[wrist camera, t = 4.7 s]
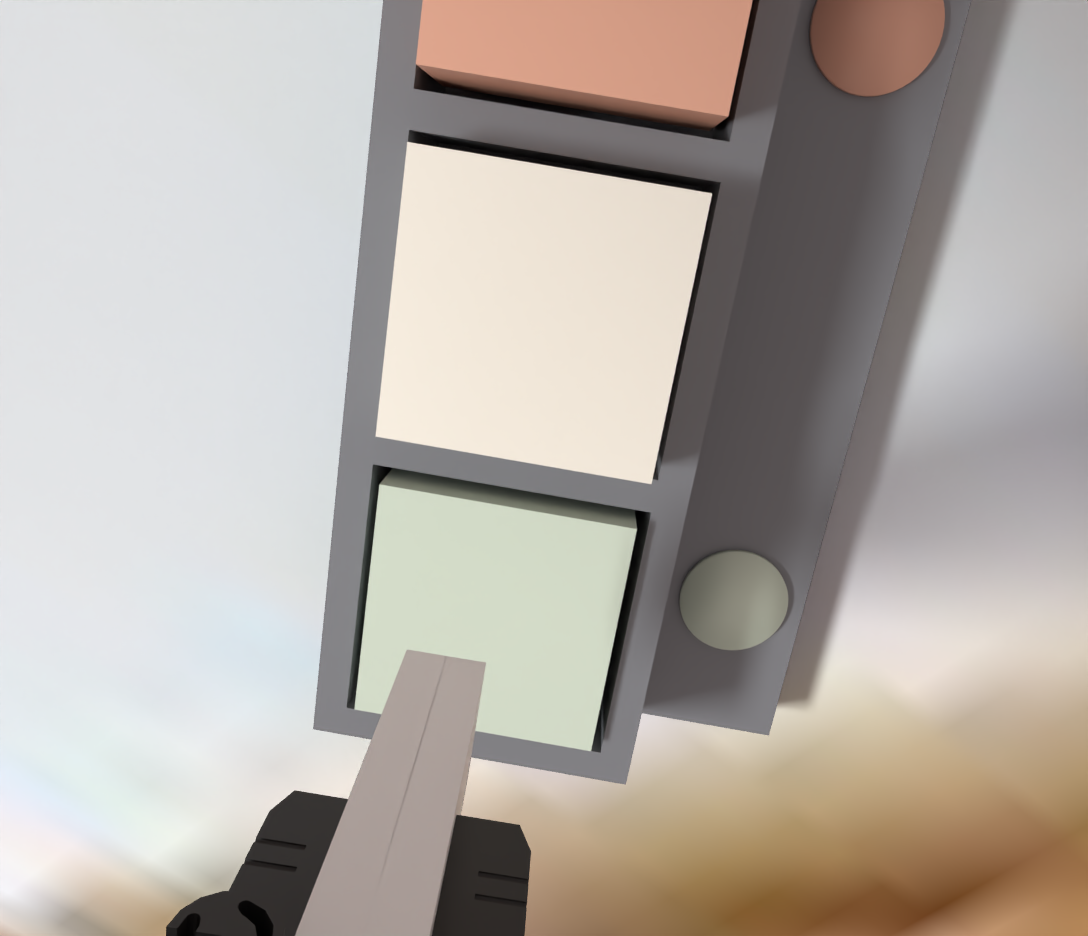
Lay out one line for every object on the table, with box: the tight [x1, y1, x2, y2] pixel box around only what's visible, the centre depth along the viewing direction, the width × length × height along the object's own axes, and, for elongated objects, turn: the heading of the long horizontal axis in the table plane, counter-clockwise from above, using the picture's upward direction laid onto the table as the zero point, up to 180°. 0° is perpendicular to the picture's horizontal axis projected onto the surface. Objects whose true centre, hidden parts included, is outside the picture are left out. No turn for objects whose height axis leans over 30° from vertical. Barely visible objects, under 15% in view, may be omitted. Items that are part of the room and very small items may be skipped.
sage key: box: [354, 468, 637, 751], centre depth 22 cm, size 6×6×3 cm
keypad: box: [313, 0, 971, 784], centre depth 21 cm, size 13×23×5 cm, turn 171°
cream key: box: [375, 142, 712, 484], centre depth 19 cm, size 6×6×3 cm
